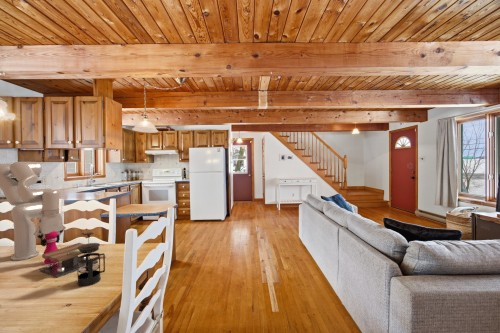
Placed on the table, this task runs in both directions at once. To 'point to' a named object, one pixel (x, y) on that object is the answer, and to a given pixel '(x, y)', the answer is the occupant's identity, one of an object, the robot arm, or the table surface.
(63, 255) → the board
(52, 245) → the pepper mill
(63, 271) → the board stand
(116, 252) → the table surface
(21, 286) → the table surface
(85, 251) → the french press
